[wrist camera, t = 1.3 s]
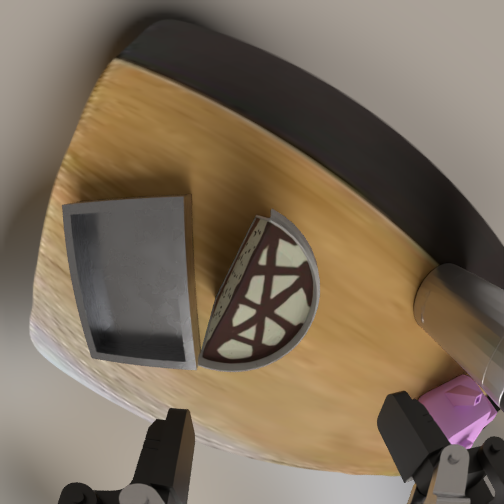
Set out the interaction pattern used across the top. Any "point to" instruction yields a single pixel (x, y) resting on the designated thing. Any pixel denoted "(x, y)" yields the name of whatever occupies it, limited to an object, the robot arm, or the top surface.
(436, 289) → the robot arm
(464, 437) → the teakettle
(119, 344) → the grey metal tray
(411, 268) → the top surface
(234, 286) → the grey speckled half-round piece
